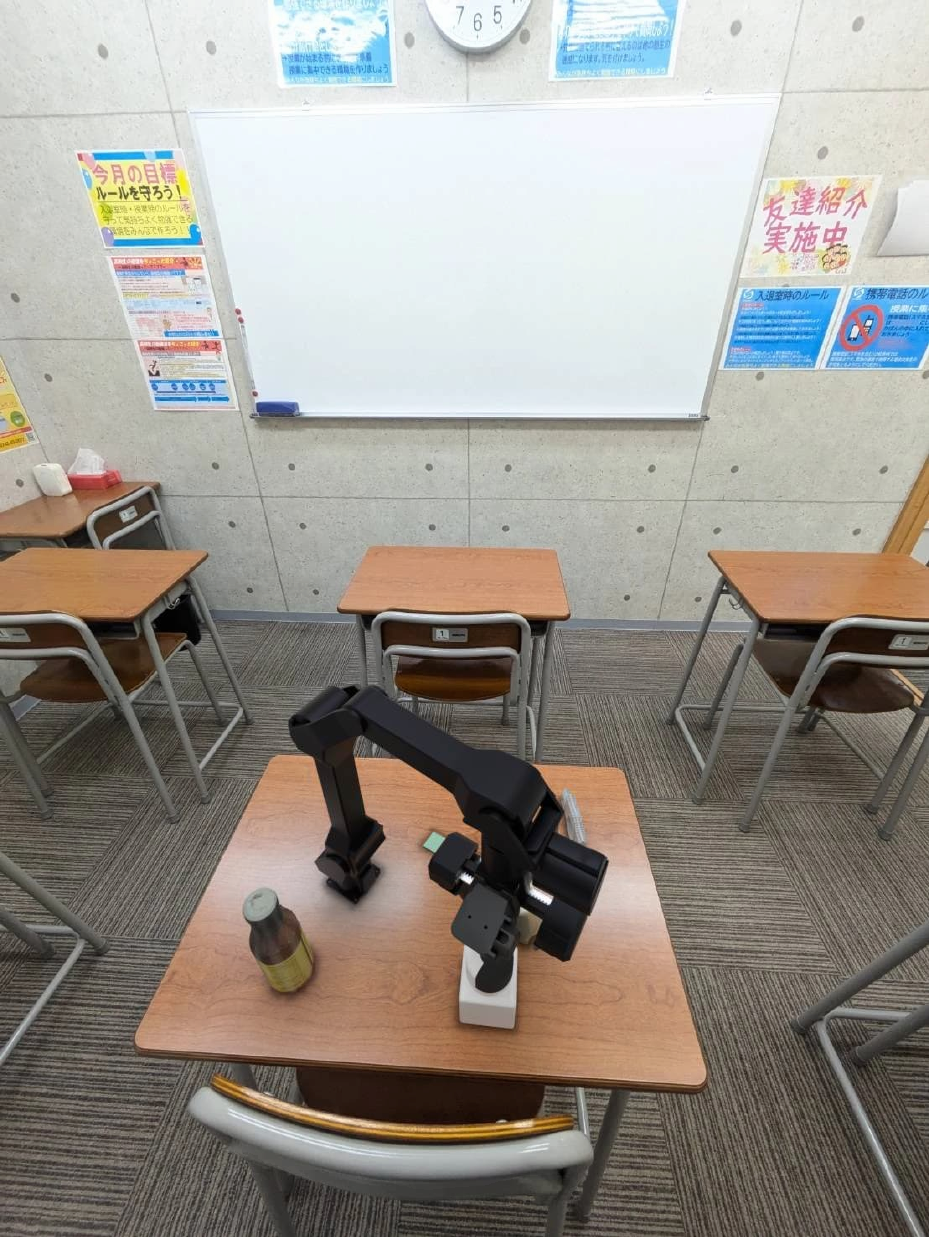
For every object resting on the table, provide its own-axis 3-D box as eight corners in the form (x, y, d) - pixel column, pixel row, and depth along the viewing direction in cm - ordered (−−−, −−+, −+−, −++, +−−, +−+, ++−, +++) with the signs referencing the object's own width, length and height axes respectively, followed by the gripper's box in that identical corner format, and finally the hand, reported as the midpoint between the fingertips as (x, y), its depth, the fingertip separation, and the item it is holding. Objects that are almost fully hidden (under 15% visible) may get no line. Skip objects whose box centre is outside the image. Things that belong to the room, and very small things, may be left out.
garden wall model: (559, 799, 96) (562, 778, 93) (569, 799, 97) (572, 778, 93) (574, 860, 86) (578, 839, 83) (585, 859, 87) (589, 838, 83)
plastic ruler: (423, 846, 89) (423, 845, 89) (433, 832, 91) (433, 831, 91) (499, 891, 82) (499, 890, 82) (509, 874, 85) (509, 873, 84)
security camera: (515, 969, 73) (519, 926, 66) (514, 1030, 67) (518, 990, 61) (465, 963, 74) (464, 920, 67) (459, 1023, 68) (457, 983, 61)
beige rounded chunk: (501, 910, 80) (502, 882, 75) (532, 900, 81) (535, 871, 77) (515, 949, 75) (518, 921, 71) (548, 937, 77) (552, 908, 72)
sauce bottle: (278, 947, 76) (245, 872, 65) (321, 948, 76) (294, 873, 65) (263, 999, 70) (223, 926, 59) (308, 1000, 70) (276, 928, 59)
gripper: (394, 872, 55) (406, 942, 64) (555, 975, 47) (543, 1040, 56) (451, 797, 63) (454, 869, 72) (598, 874, 55) (581, 945, 64)
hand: (503, 925), depth 66 cm, fingers open, 9 cm apart
